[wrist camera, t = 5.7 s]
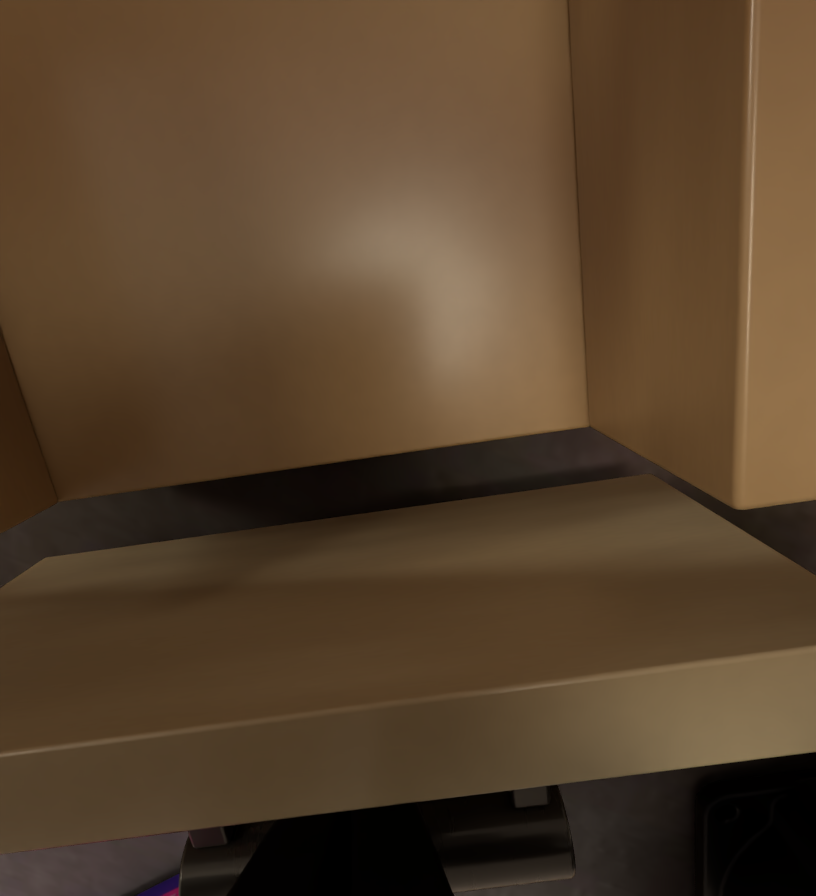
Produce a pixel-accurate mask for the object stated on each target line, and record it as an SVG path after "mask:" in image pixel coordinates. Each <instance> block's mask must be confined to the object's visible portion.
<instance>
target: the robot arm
mask: <svg viewBox="0 0 816 896" xmlns="http://www.w3.org/2000/svg"><path fill="white" fill-rule="evenodd" d="M226 896H454V894H453V892H452V889H451V887H450V884H449V882H448V879H447V877H446V874H445V871H444V869H443V866H442V864H441V861H440V859H439V856H438V854H437V851H436V848H435V846H434V843H433V841H432V838H431V836H430V833H429V831H428V828H427V825H426V823H425V820H424V818H423V815H422V813H421V810H420V808H419V805H418V802H414V803H406V804H398V805H390V806H382V807H374V808H366V809H358V810H351V811H343V812H335V813H327V814H319V815H311V816H303V817H295V818H287V819H279V820H275V822H274V823H273V825H272V826H271V828H270V829H269V831H268V833H267V834H266V836H265V837H264V839H263V840H262V842H261V843H260V845H259V846H258V848H257V849H256V851H255V852H254V854H253V855H252V857H251V858H250V860H249V862H248V863H247V865H246V866H245V868H244V869H243V871H242V872H241V874H240V875H239V877H238V878H237V880H236V881H235V883H234V884H233V886H232V887H231V889H230V891H229V892H228V894H227V895H226ZM695 896H816V769H811V770H803V771H795V772H787V773H779V774H771V775H763V776H755V777H747V778H739V779H731V780H723V781H716V782H712V783H709V784H707V785H705V786H704V787H702V788H701V789H700V791H699V792H698V793H697V795H696V799H695Z"/></svg>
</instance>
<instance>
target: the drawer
mask: <svg viewBox="0 0 816 896" xmlns="http://www.w3.org/2000/svg"><path fill="white" fill-rule="evenodd" d="M584 427H591V428H593V429H595V430H597V431H598V432H600V433H602V434H604V435H605V436H607V437H609V438H611V439H612V440H614V441H616V442H618V443H619V444H621V445H623V446H625V447H626V448H628V449H630V450H632V451H633V452H635V453H637V454H639V455H640V456H642V457H644V458H646V459H647V460H649V461H651V462H653V463H654V464H656V465H658V466H660V467H661V468H663V469H665V470H667V471H668V472H670V473H672V474H674V475H675V476H677V477H679V478H681V479H682V480H684V481H686V482H688V483H689V484H691V485H693V486H695V487H696V488H698V489H700V490H702V491H703V492H705V493H707V494H709V495H710V496H712V497H714V498H716V499H717V500H719V501H721V502H723V503H725V504H726V505H728V506H730V507H732V508H734V509H738V510H746V509H754V508H761V507H768V506H775V505H783V504H790V503H797V502H805V501H812V500H816V0H0V534H1V533H3V532H5V531H6V530H8V529H10V528H12V527H14V526H16V525H18V524H19V523H21V522H23V521H25V520H27V519H29V518H31V517H33V516H34V515H36V514H38V513H40V512H42V511H44V510H46V509H47V508H49V507H51V506H53V505H55V504H56V503H57V502H61V501H69V500H76V499H83V498H90V497H97V496H104V495H111V494H118V493H125V492H132V491H139V490H146V489H153V488H160V487H167V486H174V485H182V484H189V483H196V482H203V481H210V480H217V479H224V478H231V477H238V476H245V475H252V474H259V473H266V472H273V471H280V470H288V469H295V468H302V467H309V466H316V465H323V464H330V463H337V462H344V461H351V460H358V459H365V458H372V457H379V456H386V455H393V454H401V453H408V452H415V451H422V450H429V449H436V448H443V447H450V446H457V445H464V444H471V443H478V442H485V441H492V440H499V439H507V438H514V437H521V436H528V435H535V434H542V433H549V432H556V431H563V430H570V429H577V428H584ZM812 752H816V575H814V574H813V573H811V572H809V571H808V570H806V569H805V568H803V567H801V566H800V565H798V564H796V563H795V562H793V561H792V560H790V559H788V558H787V557H785V556H784V555H782V554H780V553H779V552H777V551H775V550H774V549H772V548H771V547H769V546H767V545H766V544H764V543H763V542H761V541H759V540H758V539H756V538H754V537H753V536H751V535H750V534H748V533H746V532H745V531H743V530H742V529H740V528H738V527H737V526H735V525H733V524H732V523H730V522H729V521H727V520H725V519H724V518H722V517H720V516H719V515H717V514H716V513H714V512H712V511H711V510H709V509H708V508H706V507H704V506H703V505H701V504H699V503H698V502H696V501H695V500H693V499H691V498H690V497H688V496H687V495H685V494H683V493H682V492H680V491H678V490H677V489H675V488H674V487H672V486H670V485H669V484H667V483H666V482H664V481H662V480H661V479H659V478H657V477H656V476H654V475H653V474H644V475H637V476H630V477H622V478H615V479H608V480H601V481H594V482H586V483H579V484H572V485H565V486H558V487H550V488H543V489H536V490H529V491H522V492H515V493H507V494H500V495H493V496H486V497H479V498H471V499H464V500H457V501H450V502H443V503H435V504H428V505H421V506H414V507H407V508H399V509H392V510H385V511H378V512H371V513H363V514H356V515H349V516H342V517H335V518H328V519H320V520H313V521H306V522H299V523H292V524H284V525H277V526H270V527H263V528H256V529H248V530H241V531H234V532H227V533H220V534H212V535H205V536H198V537H191V538H184V539H177V540H169V541H162V542H155V543H148V544H141V545H133V546H126V547H119V548H112V549H105V550H97V551H90V552H83V553H76V554H69V555H61V556H54V557H47V558H44V559H43V560H41V561H40V562H38V563H37V564H35V565H34V566H32V567H31V568H29V569H28V570H26V571H25V572H23V573H22V574H20V575H19V576H17V577H16V578H14V579H13V580H11V581H10V582H8V583H7V584H5V585H4V586H2V587H1V588H0V854H8V853H16V852H24V851H32V850H40V849H48V848H56V847H64V846H72V845H80V844H88V843H96V842H104V841H112V840H120V839H128V838H135V837H143V836H151V835H159V834H167V833H175V832H183V831H188V834H189V836H188V839H187V841H186V845H185V848H184V852H183V856H182V861H181V867H180V874H179V896H226V895H227V894H228V892H229V891H230V889H231V887H232V886H233V884H234V883H235V881H236V880H237V878H238V877H239V875H240V874H241V872H242V871H243V869H244V868H245V866H246V865H247V863H248V862H249V860H250V858H251V857H252V855H253V854H254V852H255V851H256V849H257V848H258V846H259V845H260V843H261V842H262V840H263V839H264V837H265V836H266V834H267V833H268V831H269V829H270V828H271V826H272V825H273V823H274V822H275V820H279V819H287V818H295V817H303V816H311V815H319V814H327V813H335V812H343V811H351V810H358V809H366V808H374V807H382V806H390V805H398V804H406V803H414V802H418V805H419V808H420V810H421V813H422V815H423V818H424V820H425V823H426V825H427V828H428V831H429V833H430V836H431V838H432V841H433V843H434V846H435V848H436V851H437V854H438V856H439V859H440V861H441V864H442V866H443V869H444V871H445V874H446V877H447V879H448V882H449V884H450V887H451V889H452V892H453V893H457V892H465V891H474V890H482V889H490V888H498V887H507V886H515V885H523V884H531V883H540V882H548V881H556V880H564V879H572V878H573V877H574V876H575V869H576V864H575V854H574V847H573V842H572V836H571V832H570V827H569V823H568V818H567V814H566V810H565V807H564V803H563V800H562V796H561V793H560V790H559V787H558V784H566V783H573V782H581V781H589V780H597V779H605V778H613V777H621V776H629V775H637V774H645V773H653V772H661V771H669V770H677V769H685V768H693V767H701V766H709V765H717V764H725V763H733V762H741V761H749V760H757V759H765V758H773V757H781V756H789V755H796V754H804V753H812Z"/></svg>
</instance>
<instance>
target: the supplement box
mask: <svg viewBox="0 0 816 896" xmlns="http://www.w3.org/2000/svg"><path fill="white" fill-rule="evenodd" d="M179 874H180V873H179ZM179 874H177V875H175V876H173V877H171V878H169V879H167V880H165V881H163V882H161V883H159V884H157V885H155V886H153V887H151V888H149V889H147V890H145V891H143V892H141V893H139V894H137V895H135V896H179Z"/></svg>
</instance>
